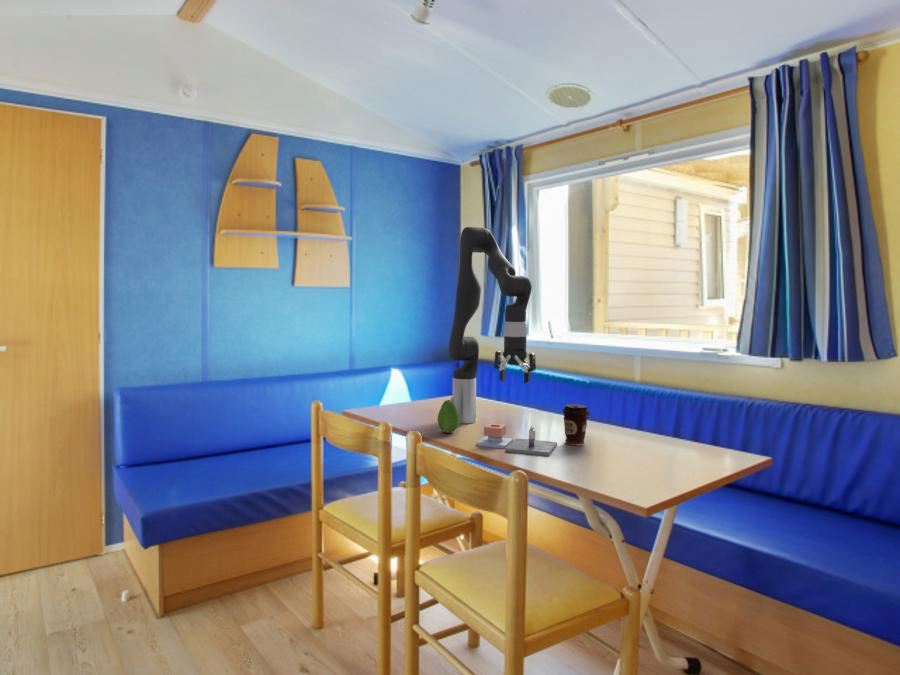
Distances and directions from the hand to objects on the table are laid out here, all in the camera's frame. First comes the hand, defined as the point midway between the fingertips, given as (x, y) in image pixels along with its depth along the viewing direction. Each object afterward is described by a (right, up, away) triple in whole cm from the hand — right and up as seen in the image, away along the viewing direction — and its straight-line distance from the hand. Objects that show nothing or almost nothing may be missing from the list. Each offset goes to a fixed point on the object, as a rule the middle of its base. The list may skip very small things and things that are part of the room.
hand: (514, 382), depth 209 cm
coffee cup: (+20, -21, -1) cm, 29 cm away
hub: (+5, -21, -9) cm, 23 cm away
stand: (-7, -20, -2) cm, 22 cm away
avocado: (-22, -19, +13) cm, 32 cm away
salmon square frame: (-7, -17, -2) cm, 19 cm away
